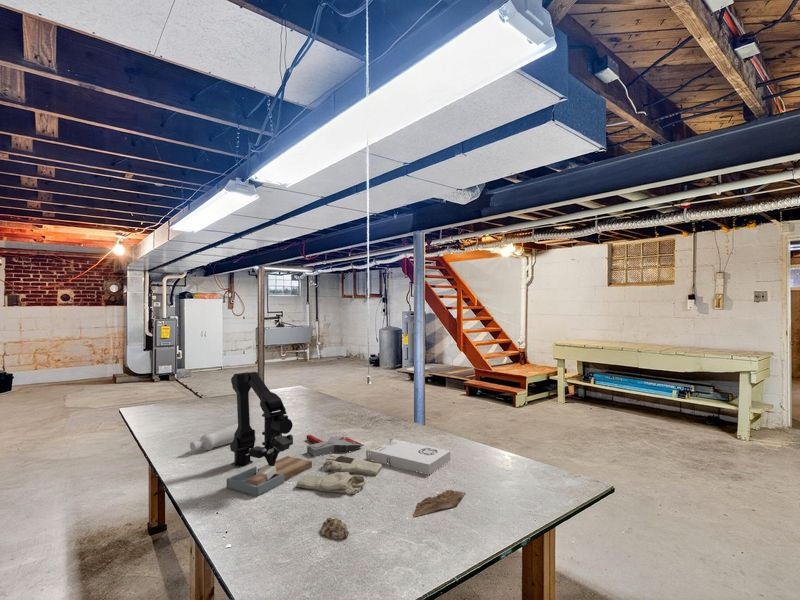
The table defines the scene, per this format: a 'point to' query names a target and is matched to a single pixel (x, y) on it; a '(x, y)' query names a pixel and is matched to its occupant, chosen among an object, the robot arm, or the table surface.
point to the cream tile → (267, 471)
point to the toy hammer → (331, 445)
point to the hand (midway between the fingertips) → (271, 468)
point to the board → (290, 467)
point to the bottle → (215, 439)
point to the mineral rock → (334, 529)
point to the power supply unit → (410, 456)
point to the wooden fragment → (438, 502)
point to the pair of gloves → (341, 475)
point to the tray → (242, 486)
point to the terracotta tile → (257, 480)
